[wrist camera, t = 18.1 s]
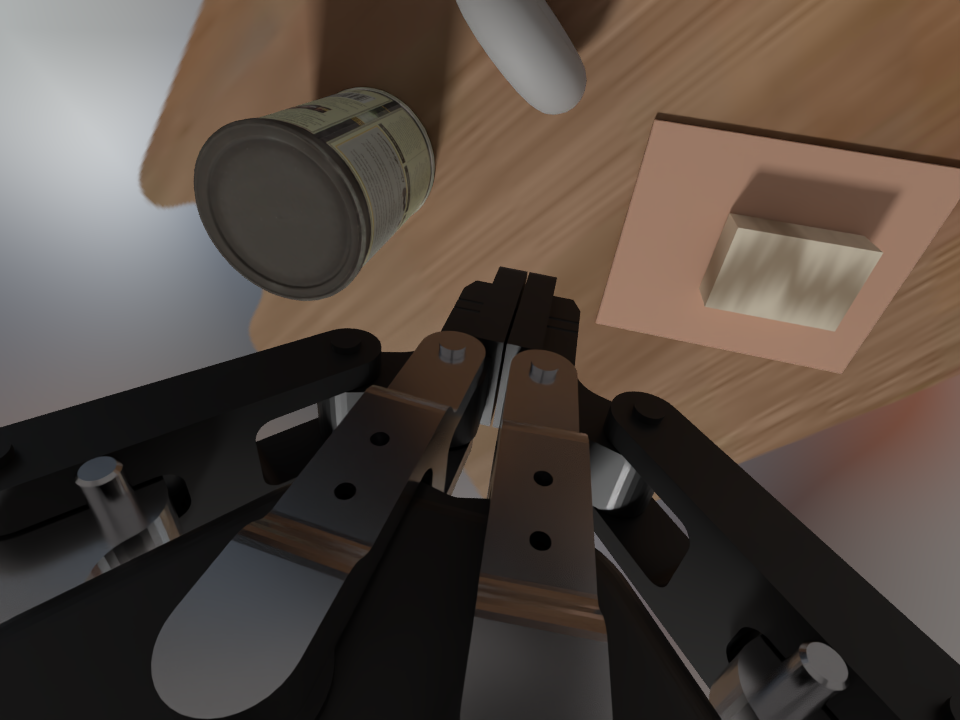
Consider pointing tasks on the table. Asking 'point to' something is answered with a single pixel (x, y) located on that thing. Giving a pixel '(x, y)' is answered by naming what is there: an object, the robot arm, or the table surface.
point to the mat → (774, 196)
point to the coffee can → (313, 189)
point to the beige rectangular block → (787, 271)
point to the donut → (529, 50)
